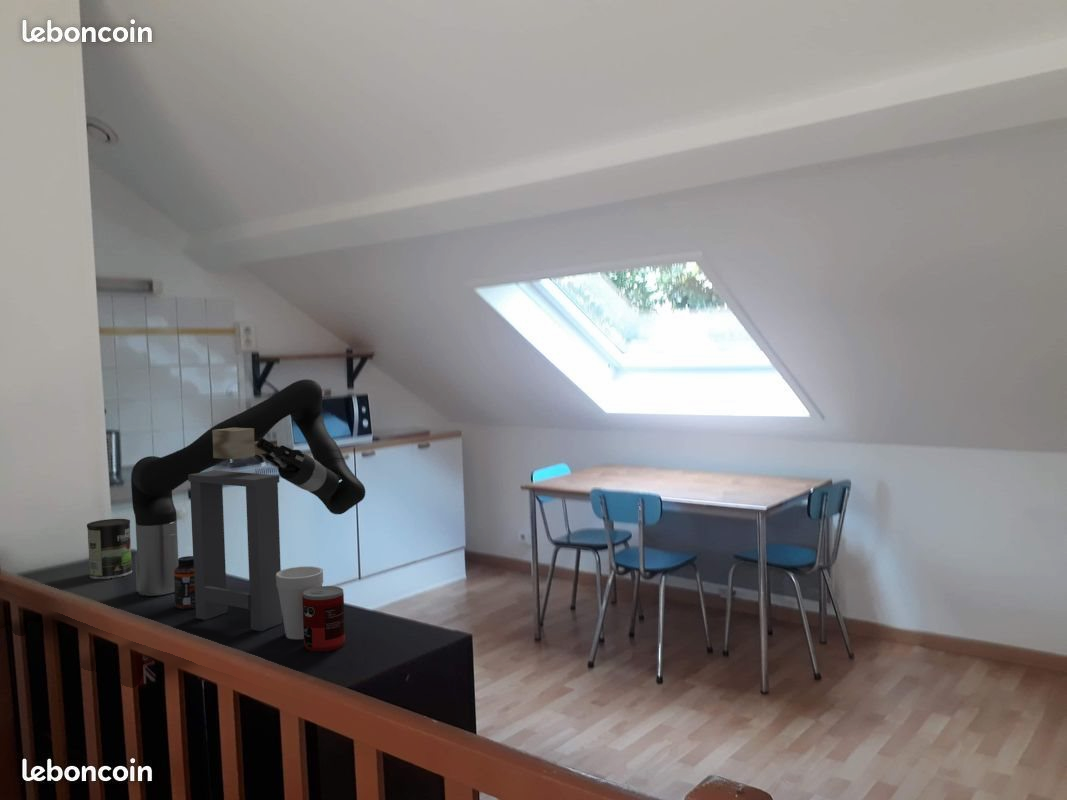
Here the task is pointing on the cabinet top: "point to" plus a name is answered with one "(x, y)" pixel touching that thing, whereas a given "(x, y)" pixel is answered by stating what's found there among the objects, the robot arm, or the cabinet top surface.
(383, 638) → the cabinet top surface
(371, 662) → the cabinet top surface
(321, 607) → the canned food
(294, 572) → the foam cup
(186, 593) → the supplement bottle
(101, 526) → the coffee can
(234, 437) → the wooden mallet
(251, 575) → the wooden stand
